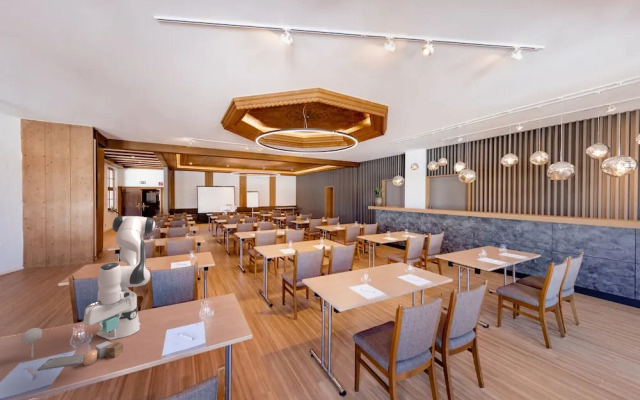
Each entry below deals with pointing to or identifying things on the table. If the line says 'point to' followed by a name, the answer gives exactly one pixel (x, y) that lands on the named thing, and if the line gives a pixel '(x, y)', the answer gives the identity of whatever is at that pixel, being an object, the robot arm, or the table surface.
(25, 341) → the lollipop
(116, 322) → the teal cube
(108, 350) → the walnut cube
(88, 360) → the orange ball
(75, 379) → the table surface
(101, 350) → the slate cube
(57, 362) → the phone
